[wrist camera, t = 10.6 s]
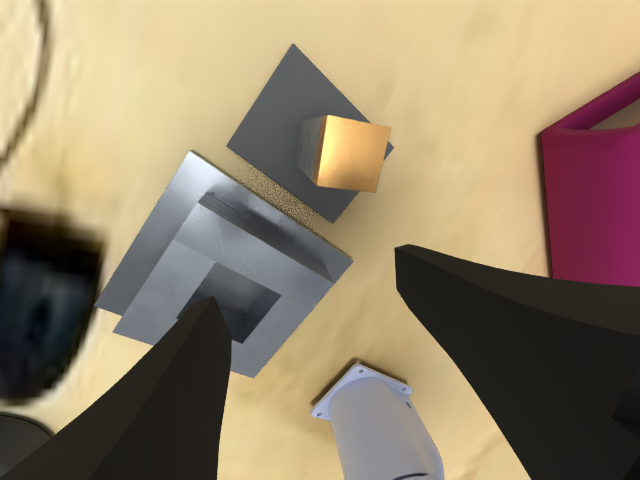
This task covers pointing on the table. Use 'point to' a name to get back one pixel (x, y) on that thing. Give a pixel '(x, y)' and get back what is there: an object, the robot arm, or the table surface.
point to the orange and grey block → (341, 152)
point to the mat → (294, 130)
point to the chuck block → (221, 265)
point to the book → (596, 189)
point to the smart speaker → (18, 441)
